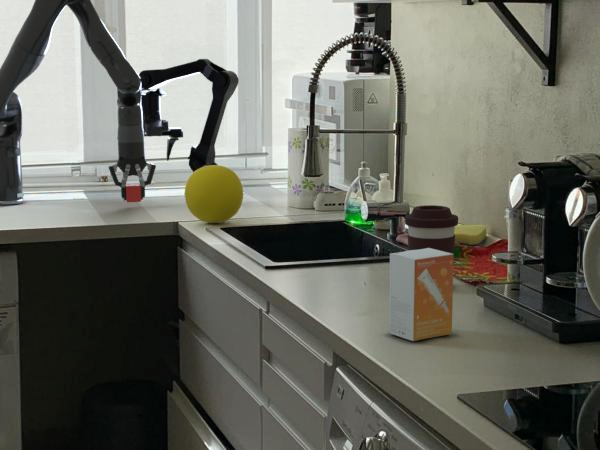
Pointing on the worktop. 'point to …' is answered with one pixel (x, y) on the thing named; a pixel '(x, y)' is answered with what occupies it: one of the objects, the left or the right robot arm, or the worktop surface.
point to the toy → (213, 193)
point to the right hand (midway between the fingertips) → (152, 161)
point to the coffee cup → (431, 228)
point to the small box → (421, 294)
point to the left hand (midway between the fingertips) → (133, 199)
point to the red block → (133, 192)
